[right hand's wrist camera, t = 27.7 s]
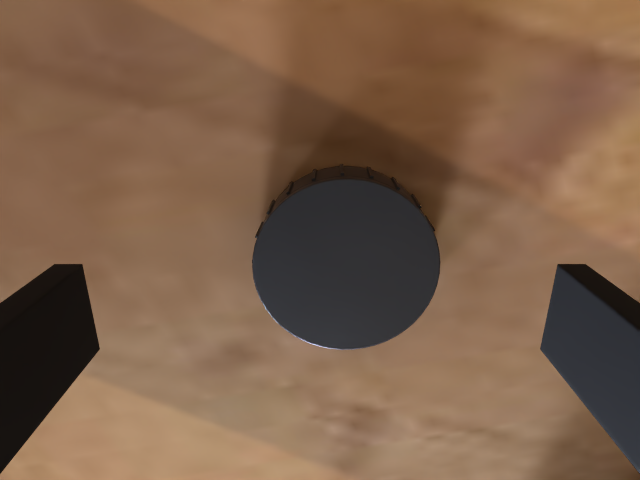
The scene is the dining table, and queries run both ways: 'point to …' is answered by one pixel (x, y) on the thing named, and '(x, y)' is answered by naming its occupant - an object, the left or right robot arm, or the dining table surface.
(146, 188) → the dining table surface
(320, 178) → the lid
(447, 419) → the dining table surface
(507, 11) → the dining table surface
